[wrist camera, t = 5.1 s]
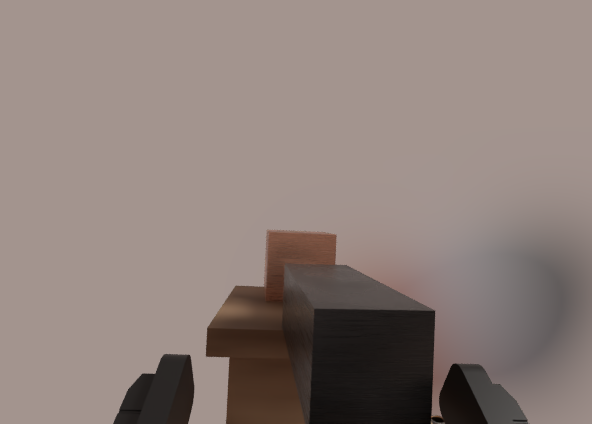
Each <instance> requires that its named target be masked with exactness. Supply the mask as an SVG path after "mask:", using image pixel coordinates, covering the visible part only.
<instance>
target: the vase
mask: <svg viewBox="0 0 592 424" xmlns="http://www.w3.org/2000/svg"><path fill="white" fill-rule="evenodd" d="M431 422H432V424H445V422H444V420H443V417H441V416H438V415H431Z"/></svg>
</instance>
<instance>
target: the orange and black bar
mask: <svg viewBox="0 0 592 424" xmlns="http://www.w3.org/2000/svg"><path fill="white" fill-rule="evenodd" d="M335 253H336V235H335V234H330V233H325V232H307V231H284V230H267V236H266V257H265V278H264V292H265V301H282V302H283V314H282V329H283V333H284V337H285V341H286V346H287V350H288V354H289V358H290V362H291V366H292V371H293V375H294V379H295V383H296V387H297V392H298V396H299V400H300V404H301V408H302V412H303V417H304V421H305V424H431V411H432V384H433V383H432V382H433V355H434V329H435V311H434V310H433V309H431V308H429V307H427V306H425V305H423V304H421V303H419V302H417V301H415V300H413V299H411V298H409V297H407V296H405V295H403V294H401V293H399V292H398V291H396V290H394V289H392V288H390V287H388V286H386V285H384V284H382V283H380V282H378V281H376V280H374V279H372V278H370V277H368V276H366V275H364V274H362V273H360V272H359V271H357V270H354V269H353V268H351V267H349V266H347V265H335V256H336V254H335Z"/></svg>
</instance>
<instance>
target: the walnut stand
mask: <svg viewBox="0 0 592 424" xmlns="http://www.w3.org/2000/svg"><path fill="white" fill-rule="evenodd" d="M282 314H283V302H282V301H265V292H264V287H254V286H235V288H234V289H233V291H232V292H231V294H230V295H229V297H228V298H227V300H226V301H225V303H224V304H223V305H222V307H221V308H220V310H219V311H218V313H217V314H216V316H215V317H214V319H213V320H212V322H211V323H210V325H209V326H208V328H207V345H206V356H207V357H230V359H229V379H228V399H227V419H226V424H305V421H304V417H303V412H302V408H301V404H300V400H299V396H298V392H297V387H296V383H295V379H294V375H293V371H292V366H291V362H290V358H289V354H288V350H287V346H286V341H285V337H284V333H283V329H282Z"/></svg>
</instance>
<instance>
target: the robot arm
mask: <svg viewBox="0 0 592 424" xmlns="http://www.w3.org/2000/svg"><path fill="white" fill-rule="evenodd" d="M193 398H194V381H193V372H192V364H191V357H190V355H177V354H176V355H175V354H174V355H173V354H165V355H163V357H162V358H161V360H160V363H159V365H158V368H157V371H156V374H142V375H141V376H140V377H139V378H138V379H137V380H136V382H135V383H134V384H133V385H132V386H131V387H130V388H129V389H128V391H127V393H126V396H125V398H124V400H123V403H122V405H121V407H120V411H119V413H118V414H117V416H116V419H115V421H114V423H113V424H188V421H189V417H190V413H191V409H192V404H193ZM439 405H440V411H441V414H442V417H443V420H444V422H445V424H528V422H527V418H526V417H525V415H524V413H523V412H522V410H521V408H520V407H519V405H518V403H517V401H516V400H515V399H514V398H513V397H512V396H511V395H510V394H509V393H508V392H507V391H506V390H505V389H504V388H503V387H502V386H501V385H500V384H492V382H491V380H490V378H489V377H488V375H487V373H486V371H485V370H484V369H483V367H482V366H480V365H478V364H453V365H452V366H451V368H450V370H449V373H448V375H447V378H446V380H445V382H444V385H443V387H442V390H441V392H440V396H439Z"/></svg>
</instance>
